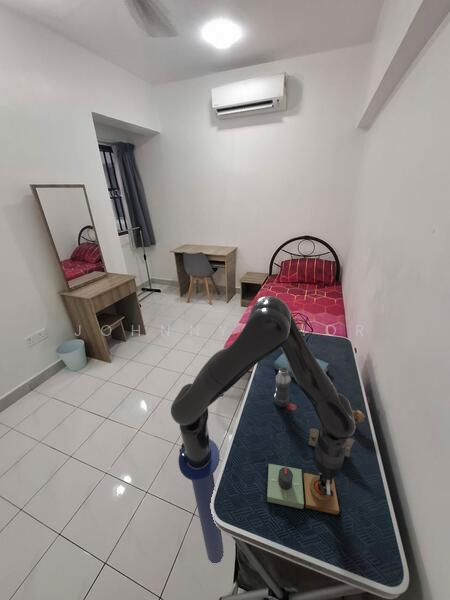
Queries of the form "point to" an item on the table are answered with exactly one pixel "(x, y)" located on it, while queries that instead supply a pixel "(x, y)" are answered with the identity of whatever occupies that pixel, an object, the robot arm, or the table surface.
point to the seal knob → (285, 478)
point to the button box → (319, 496)
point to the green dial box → (282, 496)
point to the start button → (318, 489)
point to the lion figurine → (358, 416)
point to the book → (283, 363)
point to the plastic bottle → (282, 387)
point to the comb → (315, 436)
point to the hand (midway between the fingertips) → (321, 487)
